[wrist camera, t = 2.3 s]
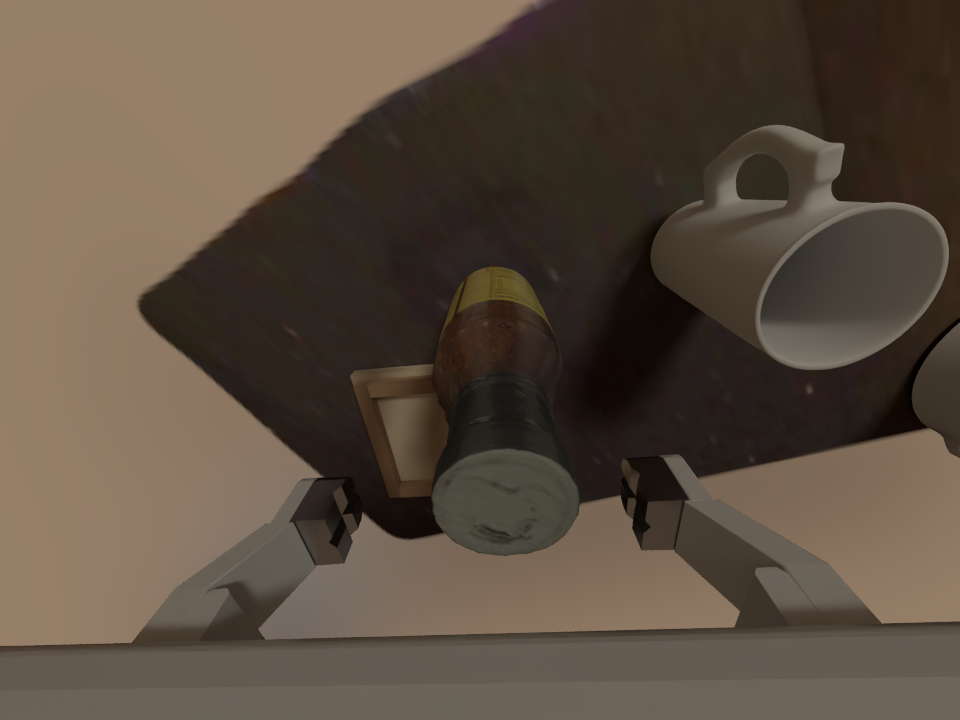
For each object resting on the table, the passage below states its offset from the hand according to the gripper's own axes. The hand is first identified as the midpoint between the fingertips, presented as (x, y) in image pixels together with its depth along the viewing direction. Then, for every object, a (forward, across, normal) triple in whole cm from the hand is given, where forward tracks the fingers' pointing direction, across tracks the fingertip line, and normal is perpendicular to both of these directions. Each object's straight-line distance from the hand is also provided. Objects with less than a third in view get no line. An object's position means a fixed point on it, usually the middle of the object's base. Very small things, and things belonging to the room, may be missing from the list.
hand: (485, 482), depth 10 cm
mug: (+18, -14, -4) cm, 24 cm away
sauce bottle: (+19, 0, 0) cm, 19 cm away
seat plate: (+19, +5, +12) cm, 23 cm away
